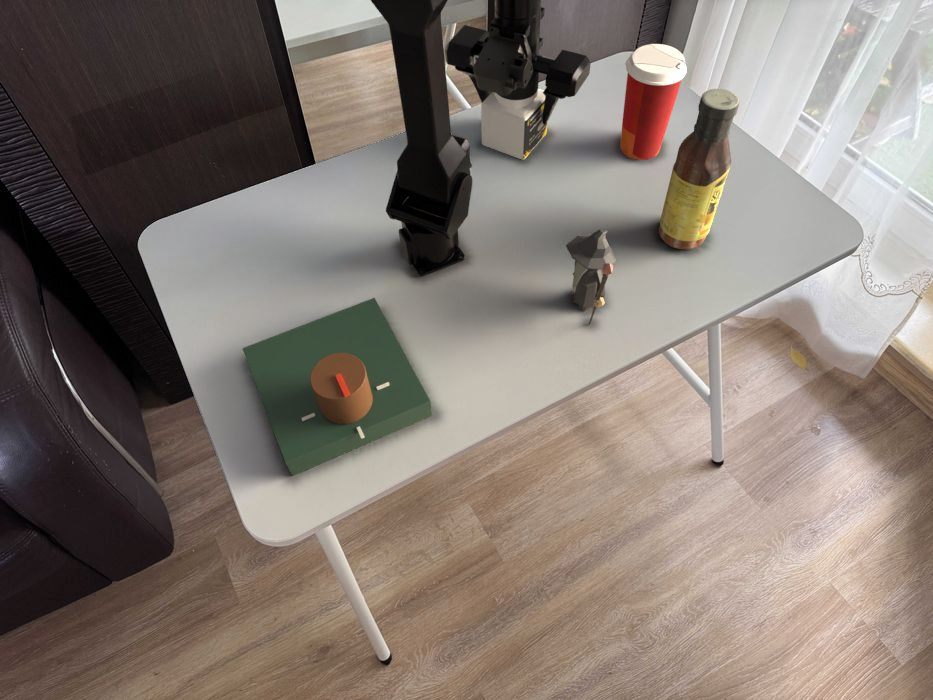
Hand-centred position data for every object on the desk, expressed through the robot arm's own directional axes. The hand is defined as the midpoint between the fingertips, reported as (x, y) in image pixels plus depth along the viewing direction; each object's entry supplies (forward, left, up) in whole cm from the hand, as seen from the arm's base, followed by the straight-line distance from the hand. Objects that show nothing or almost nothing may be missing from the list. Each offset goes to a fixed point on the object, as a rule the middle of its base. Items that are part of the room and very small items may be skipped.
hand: (515, 114), depth 101 cm
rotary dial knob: (+38, +33, -1) cm, 50 cm away
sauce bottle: (-10, +27, -5) cm, 29 cm away
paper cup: (-15, +10, -5) cm, 19 cm away
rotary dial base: (+38, +29, -4) cm, 48 cm away
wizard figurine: (+7, +32, -5) cm, 33 cm away
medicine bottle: (0, 0, -5) cm, 5 cm away
